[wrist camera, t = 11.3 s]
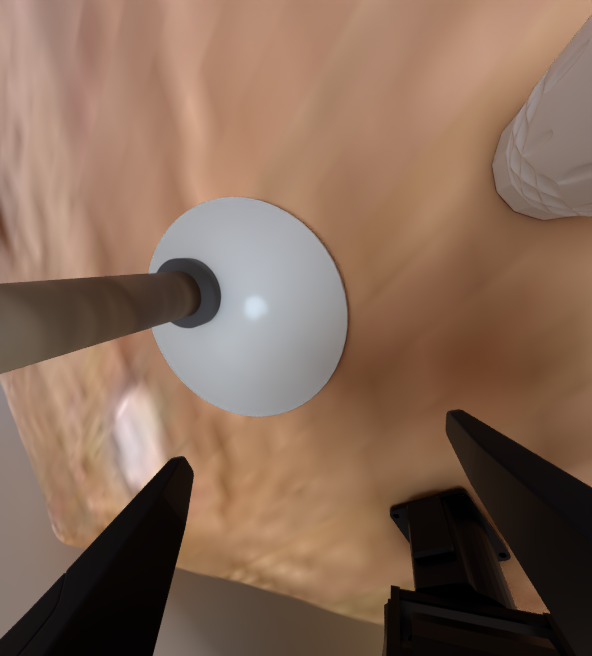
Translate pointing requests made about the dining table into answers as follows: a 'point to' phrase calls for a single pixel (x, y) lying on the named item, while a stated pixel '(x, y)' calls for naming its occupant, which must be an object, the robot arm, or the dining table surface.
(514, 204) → the white cup
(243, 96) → the dining table surface
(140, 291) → the brown tapered knob
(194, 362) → the white smooth round part
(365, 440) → the dining table surface
